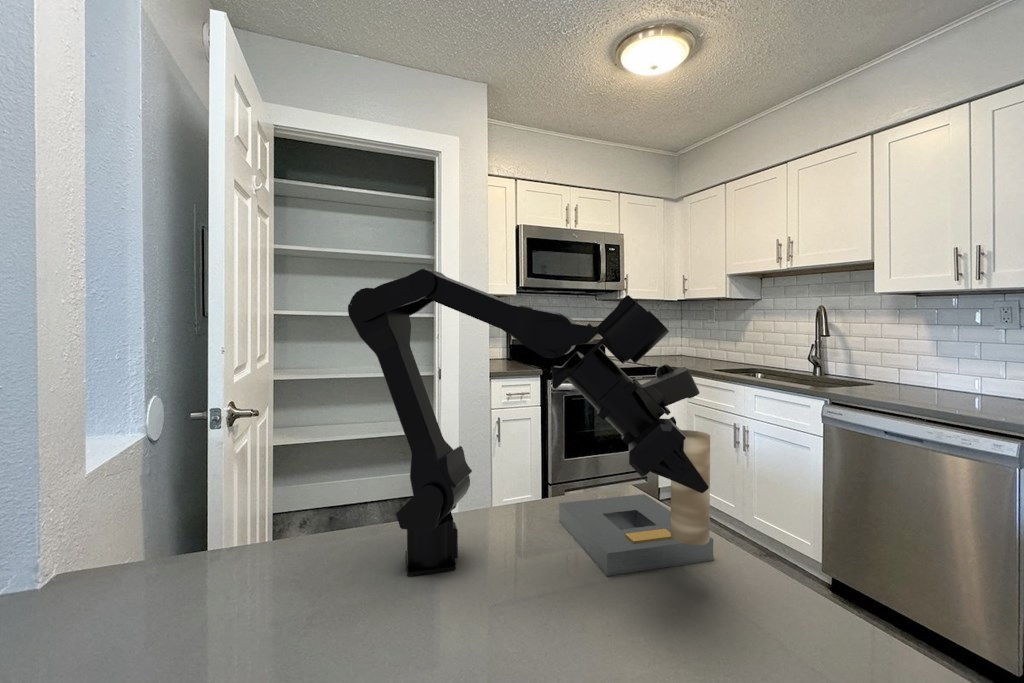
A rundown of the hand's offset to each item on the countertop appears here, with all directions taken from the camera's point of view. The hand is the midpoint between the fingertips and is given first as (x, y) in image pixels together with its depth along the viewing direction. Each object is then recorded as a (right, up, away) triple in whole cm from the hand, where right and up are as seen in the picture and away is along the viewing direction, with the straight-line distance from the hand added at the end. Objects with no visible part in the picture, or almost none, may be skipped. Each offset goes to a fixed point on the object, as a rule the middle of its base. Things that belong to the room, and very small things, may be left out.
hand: (702, 483), depth 55 cm
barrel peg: (-1, -7, 0) cm, 7 cm away
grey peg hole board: (-5, -13, +15) cm, 21 cm away
